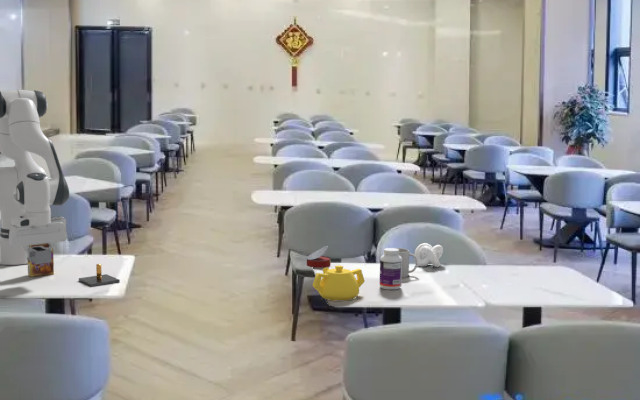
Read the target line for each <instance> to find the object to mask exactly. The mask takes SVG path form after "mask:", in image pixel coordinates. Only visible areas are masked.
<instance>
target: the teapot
mask: <svg viewBox="0 0 640 400" xmlns="http://www.w3.org/2000/svg"><path fill="white" fill-rule="evenodd" d="M321 269H322V272H321V273H320V272H316V273H315V276H314V278H313V279H314V280H313V282H312V285H311V286H312V287H313V288H314V289H315V290H316V291H317V292H318V295H320V296H321V297H322V299H325V300H327V299H329V300H328V301H333V300H347V301H351V299H352V300H354V299H355V298H357V297H358V295H359V294H360V288H361V286H362V285H363V284H365V282H366V280H365V278H364V274H363V271H362V269H361V268H356V269H352V270H350V269H347V268H344V266H343V265H340V264H339V265H335V266H334V268H329V267H325V268H321ZM355 275H356V277H355Z"/></svg>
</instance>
